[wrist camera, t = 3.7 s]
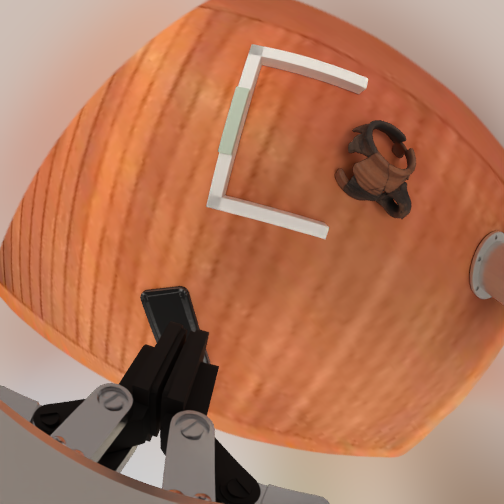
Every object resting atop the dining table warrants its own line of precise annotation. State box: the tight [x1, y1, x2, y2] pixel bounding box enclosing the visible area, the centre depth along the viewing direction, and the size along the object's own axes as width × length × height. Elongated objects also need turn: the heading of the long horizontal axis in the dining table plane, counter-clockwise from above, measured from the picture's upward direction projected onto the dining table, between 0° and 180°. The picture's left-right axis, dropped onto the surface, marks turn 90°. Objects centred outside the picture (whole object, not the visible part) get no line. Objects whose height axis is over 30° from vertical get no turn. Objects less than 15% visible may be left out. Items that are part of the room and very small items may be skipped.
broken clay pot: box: [335, 120, 416, 219], centre depth 29 cm, size 12×10×8 cm
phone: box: [140, 286, 210, 364], centre depth 40 cm, size 8×1×15 cm
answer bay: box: [206, 44, 368, 239], centre depth 29 cm, size 14×21×4 cm
